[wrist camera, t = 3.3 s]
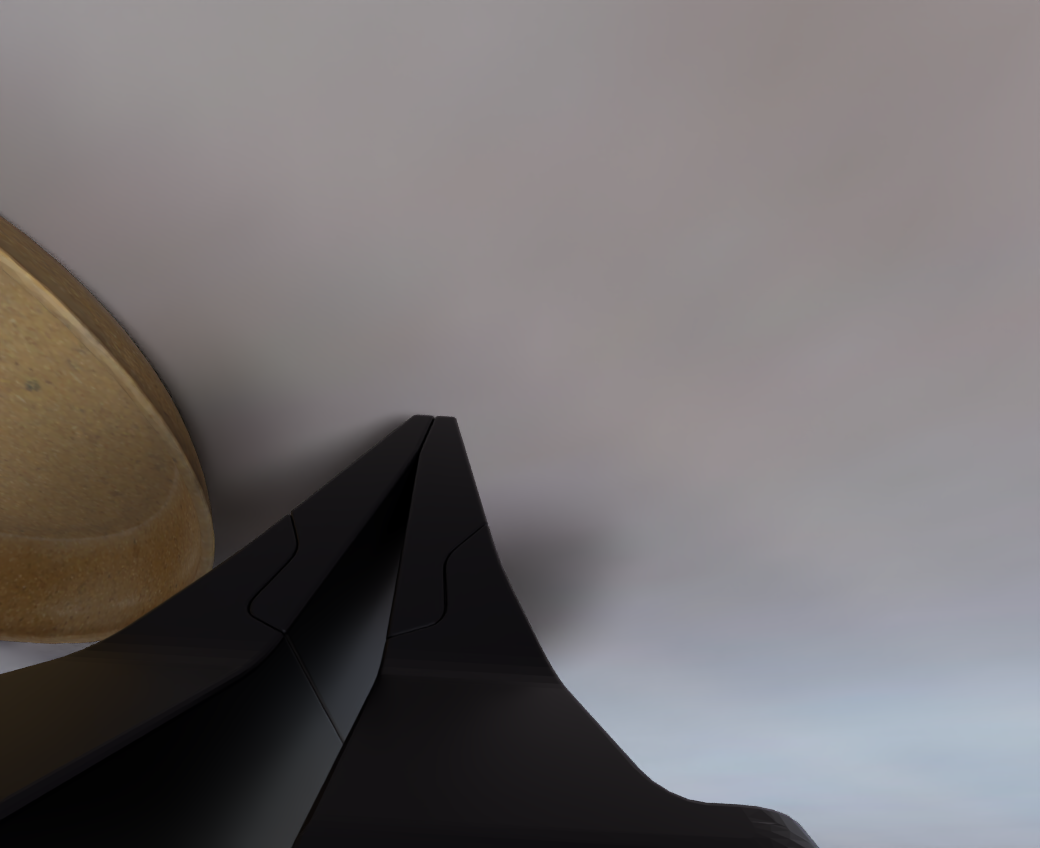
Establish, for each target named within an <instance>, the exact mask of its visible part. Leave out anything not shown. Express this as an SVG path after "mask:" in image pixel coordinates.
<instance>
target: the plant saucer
mask: <svg viewBox="0 0 1040 848" xmlns="http://www.w3.org/2000/svg"><path fill="white" fill-rule="evenodd" d="M214 553H215V543H214V531H213V522H212V512H211V506H210V501H209V495H208V491H207V487H206V482H205V478H204V474H203V471H202V468H201V465H200V462H199V459H198V456H197V453H196V451H195V448H194V446H193V443H192V441H191V438H190V436H189V433H188V431H187V429H186V427H185V425H184V423H183V420H182V418H181V416H180V414H179V412H178V410H177V408H176V406H175V404H174V402H173V401H172V399H171V397H170V395H169V393H168V392H167V390H166V388H165V387H164V385H163V384H162V382H161V381H160V379H159V377H158V376H157V374H156V373H155V371H154V370H153V368H152V367H151V365H150V364H149V362H148V361H147V359H146V358H145V357H144V355H143V354H142V353H141V351H140V350H139V349H138V347H137V346H136V345H135V343H134V342H133V341H132V340H131V338H130V337H129V336H128V334H127V333H126V332H125V330H124V329H123V328H122V327H121V326H120V325H119V324H118V322H117V321H116V320H115V319H114V318H113V317H112V316H111V314H110V313H109V312H108V311H107V310H106V309H105V308H104V307H103V306H102V304H101V303H100V302H99V301H98V300H97V299H96V298H95V297H94V296H93V295H92V294H91V293H90V292H89V291H88V290H87V289H86V288H85V287H84V286H83V285H82V284H81V283H80V282H79V281H78V280H77V279H76V278H74V277H73V276H72V275H71V274H70V273H69V272H68V271H67V270H66V269H65V268H64V267H63V266H62V265H61V264H60V263H58V262H57V261H56V260H55V259H54V258H53V257H51V256H50V255H49V254H48V253H47V252H46V251H44V250H43V249H42V248H41V247H40V246H38V245H37V244H36V243H35V242H34V241H33V240H31V239H30V238H29V237H28V236H27V235H26V234H24V233H23V232H22V231H20V230H19V229H17V228H16V227H15V226H13V225H12V224H11V223H9V222H8V221H7V220H5V219H4V218H3V217H1V216H0V640H4V641H14V642H32V643H49V644H58V643H86V642H95V641H102V640H104V639H105V638H107V637H109V636H111V635H113V634H115V633H116V632H118V631H120V630H121V629H123V628H124V627H126V626H128V625H129V624H131V623H132V622H134V621H135V620H137V619H138V618H140V617H141V616H143V615H144V614H146V613H147V612H149V611H150V610H152V609H153V608H155V607H157V606H158V605H160V604H161V603H163V602H164V601H166V600H167V599H169V598H170V597H172V596H173V595H175V594H176V593H178V592H179V591H181V590H182V589H184V588H185V587H187V586H188V585H190V584H191V583H193V582H194V581H196V580H197V579H199V578H200V577H202V576H203V575H205V574H206V573H208V572H209V571H211V570H212V567H213V562H214Z"/></svg>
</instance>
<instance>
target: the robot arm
mask: <svg viewBox="0 0 1040 848" xmlns="http://www.w3.org/2000/svg"><path fill="white" fill-rule="evenodd" d="M0 848H819V847H818V846H817V845H816V843H815V842H814V841H813V840H812V839H811V837H810V836H809V835H808V834H807V832H806V831H805V830H804V829H803V828H802V826H801V825H800V824H799V823H798V822H796V821H795V820H793V819H792V818H790V817H789V816H787V815H786V814H783V813H780V812H778V811H775V810H772V809H767V808H762V807H757V806H748V805H738V804H721V803H705V802H700V801H695V800H689V799H686V798H684V797H681V796H679V795H677V794H674V793H672V792H669V791H668V790H666V789H665V788H663V787H662V786H660V785H658V784H657V783H655V782H654V781H652V780H651V779H650V778H649V777H648V776H647V775H646V774H645V773H644V772H642V771H641V770H640V769H639V768H638V767H637V765H636V764H635V763H634V762H633V761H632V760H631V759H630V758H629V757H628V756H627V754H626V753H625V752H624V751H623V750H622V749H621V748H620V747H619V746H618V745H617V743H616V742H615V741H614V740H613V739H612V738H611V737H610V736H609V735H608V733H607V732H606V731H605V730H604V729H603V728H602V727H601V726H600V725H599V724H598V722H597V721H596V720H595V719H594V718H593V717H592V716H591V715H590V714H589V713H588V711H587V710H586V709H585V708H584V707H583V706H582V705H581V704H580V703H579V702H578V700H577V699H576V698H575V697H574V696H573V695H572V694H571V693H570V692H569V690H568V689H567V688H566V687H565V686H564V685H563V683H562V682H561V680H560V679H559V677H558V676H557V674H556V673H555V671H554V669H553V668H552V666H551V664H550V662H549V661H548V659H547V657H546V655H545V653H544V651H543V650H542V648H541V646H540V644H539V642H538V640H537V638H536V636H535V634H534V632H533V630H532V628H531V625H530V623H529V621H528V619H527V617H526V615H525V613H524V611H523V609H522V607H521V605H520V603H519V601H518V599H517V597H516V595H515V593H514V591H513V589H512V587H511V585H510V582H509V580H508V578H507V576H506V573H505V571H504V569H503V567H502V564H501V562H500V559H499V556H498V553H497V550H496V548H495V545H494V542H493V539H492V535H491V532H490V529H489V526H488V523H487V519H486V516H485V513H484V509H483V506H482V503H481V499H480V496H479V493H478V490H477V486H476V483H475V480H474V476H473V473H472V470H471V466H470V463H469V460H468V456H467V453H466V450H465V446H464V443H463V440H462V437H461V433H460V430H459V427H458V423H457V420H456V418H455V417H449V416H437V417H435V418H434V416H430V415H414V416H412V417H411V418H410V419H408V420H407V421H406V422H405V423H403V424H402V425H401V426H400V427H398V428H397V429H396V430H394V431H393V432H392V433H391V434H389V435H388V436H387V437H386V438H384V439H383V440H382V441H380V442H379V443H378V444H377V445H375V446H374V447H373V448H372V449H370V450H369V451H368V452H366V453H365V454H364V455H363V456H361V457H360V458H359V459H358V460H356V461H355V462H354V463H352V464H351V465H350V466H349V467H347V468H346V469H345V470H344V471H342V472H341V473H340V474H338V475H337V476H336V477H335V478H333V479H332V480H331V481H330V482H328V483H327V484H326V485H324V486H323V487H322V488H321V489H319V490H318V491H317V492H316V493H314V494H313V495H312V496H310V497H309V498H308V499H307V500H305V501H304V502H303V503H302V504H300V505H299V506H298V507H296V508H295V509H294V510H293V511H291V515H286V516H285V517H283V518H282V519H281V520H280V521H278V522H277V523H276V524H275V525H273V526H272V527H271V528H269V529H268V530H267V531H265V532H264V533H263V534H261V535H260V536H259V537H257V538H256V539H255V540H253V541H252V542H251V543H249V544H248V545H247V546H245V547H244V548H243V549H241V550H240V551H238V552H237V553H235V554H234V555H233V556H231V557H230V558H228V559H227V560H225V561H224V562H222V563H221V564H219V565H218V566H217V567H215V568H214V569H212V570H211V571H209V572H208V573H206V574H205V575H203V576H202V577H200V578H199V579H197V580H196V581H194V582H193V583H191V584H190V585H188V586H187V587H185V588H184V589H182V590H181V591H179V592H178V593H176V594H175V595H173V596H172V597H170V598H169V599H167V600H166V601H164V602H163V603H161V604H160V605H158V606H157V607H155V608H153V609H152V610H150V611H149V612H147V613H146V614H144V615H143V616H141V617H140V618H138V619H137V620H135V621H134V622H132V623H131V624H129V625H128V626H126V627H124V628H123V629H121V630H120V631H118V632H116V633H115V634H113V635H111V636H109V637H107V638H105V639H104V640H102V641H100V642H98V643H96V644H94V645H91V646H89V647H87V648H85V649H83V650H80V651H77V652H75V653H72V654H69V655H67V656H64V657H61V658H57V659H54V660H51V661H47V662H43V663H40V664H36V665H33V666H29V667H25V668H22V669H18V670H14V671H11V672H7V673H3V674H0Z"/></svg>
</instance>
